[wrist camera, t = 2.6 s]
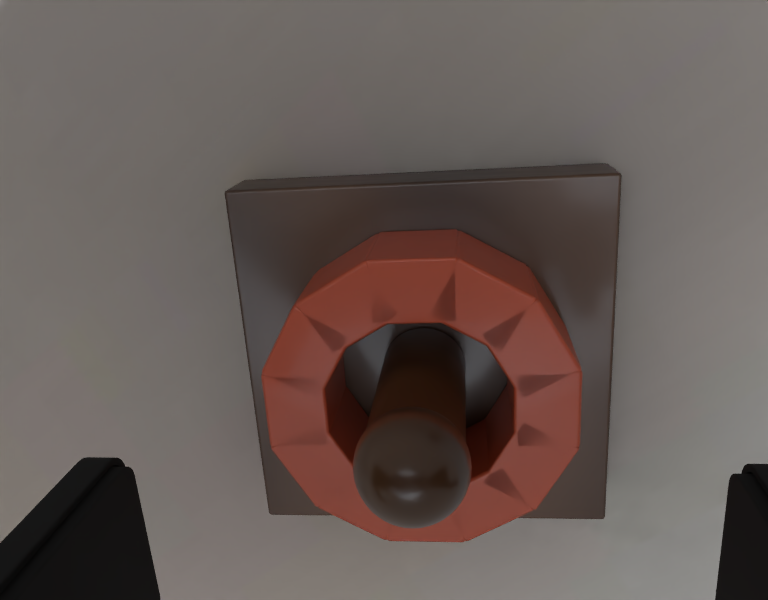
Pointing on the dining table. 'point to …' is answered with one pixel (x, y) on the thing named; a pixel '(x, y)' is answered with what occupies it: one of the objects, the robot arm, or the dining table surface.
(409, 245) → the ring
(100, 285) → the dining table surface
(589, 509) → the ring holder
